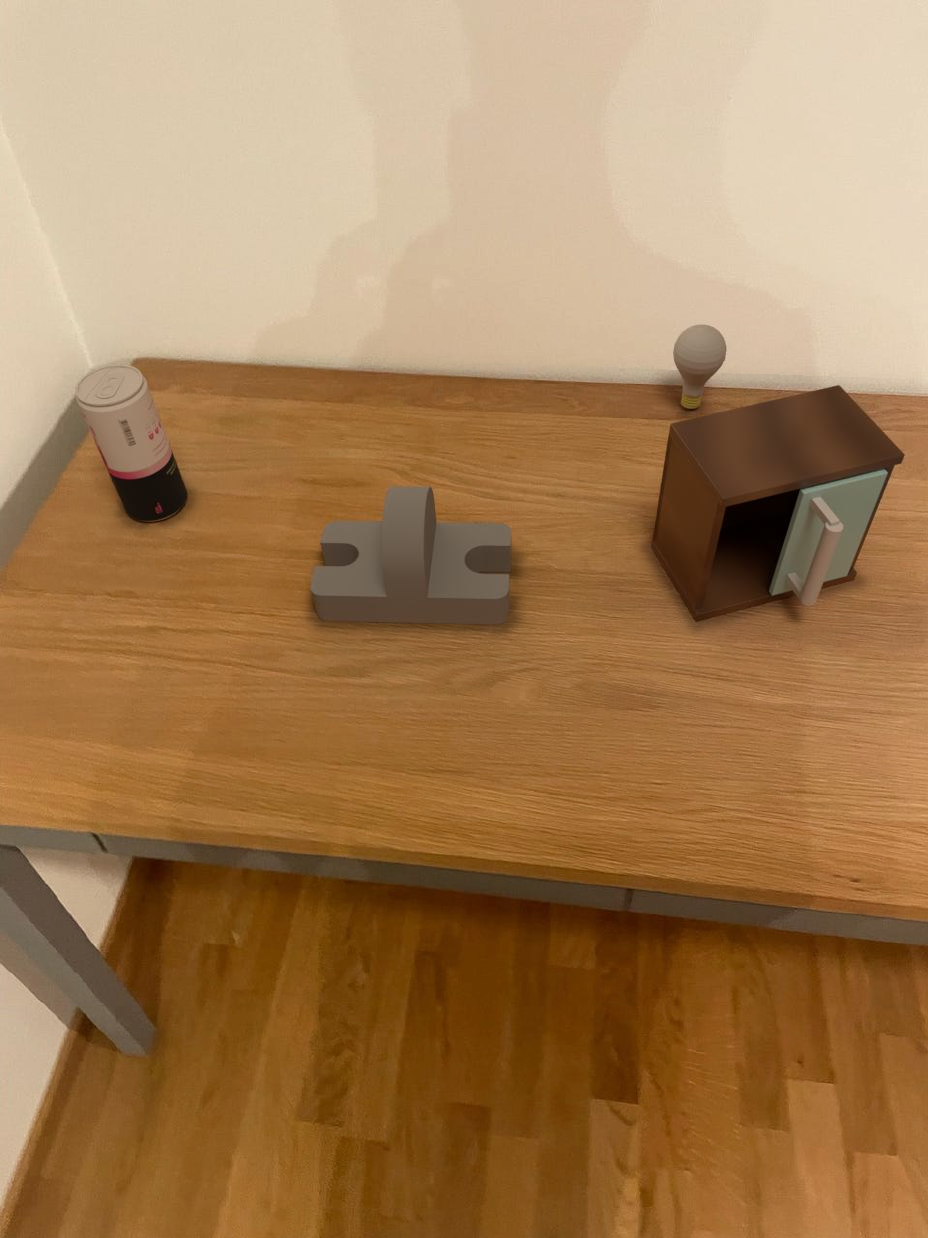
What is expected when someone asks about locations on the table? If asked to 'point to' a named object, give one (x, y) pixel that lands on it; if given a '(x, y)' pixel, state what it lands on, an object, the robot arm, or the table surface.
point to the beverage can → (131, 441)
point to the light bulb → (698, 360)
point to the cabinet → (755, 491)
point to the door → (825, 534)
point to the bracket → (413, 567)
